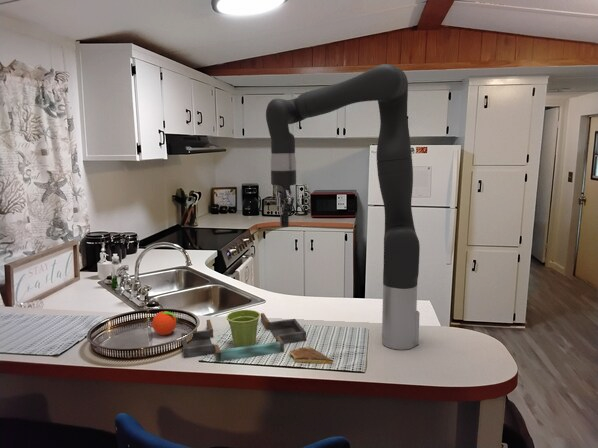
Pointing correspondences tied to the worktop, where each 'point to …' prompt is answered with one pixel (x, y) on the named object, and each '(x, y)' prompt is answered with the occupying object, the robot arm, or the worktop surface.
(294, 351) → the shard
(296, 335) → the two-trap channel
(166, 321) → the clementine
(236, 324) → the plant pot
